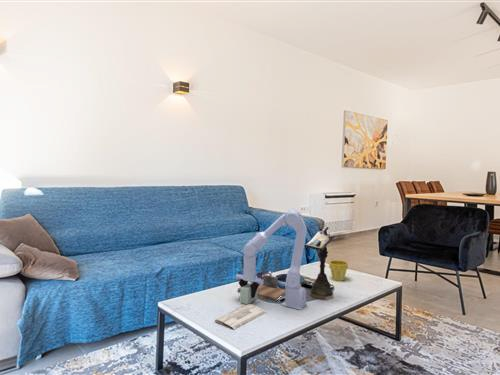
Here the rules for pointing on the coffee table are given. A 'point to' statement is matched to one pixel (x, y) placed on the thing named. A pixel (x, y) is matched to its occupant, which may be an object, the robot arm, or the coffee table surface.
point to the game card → (259, 275)
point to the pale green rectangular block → (247, 294)
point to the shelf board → (269, 288)
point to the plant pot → (338, 269)
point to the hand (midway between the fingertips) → (249, 296)
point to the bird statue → (321, 266)
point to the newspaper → (241, 316)
